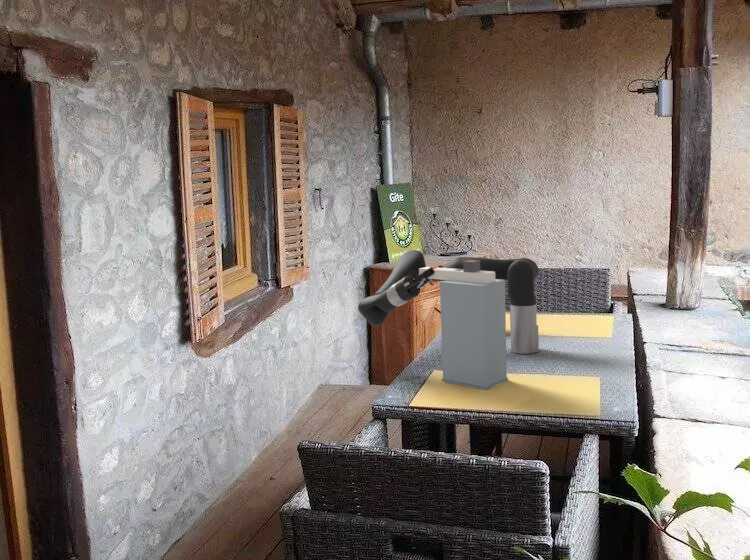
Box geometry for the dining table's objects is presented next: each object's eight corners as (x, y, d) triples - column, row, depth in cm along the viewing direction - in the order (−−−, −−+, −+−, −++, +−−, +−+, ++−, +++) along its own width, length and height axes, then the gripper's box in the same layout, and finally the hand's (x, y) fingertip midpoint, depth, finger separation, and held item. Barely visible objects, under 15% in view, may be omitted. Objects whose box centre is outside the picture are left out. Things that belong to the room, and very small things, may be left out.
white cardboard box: (419, 277, 249) (418, 258, 248) (427, 275, 253) (427, 256, 252) (487, 283, 232) (486, 263, 231) (495, 281, 236) (494, 261, 235)
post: (441, 381, 245) (438, 282, 239) (464, 371, 254) (461, 276, 249) (485, 390, 234) (483, 286, 228) (508, 379, 243) (506, 279, 238)
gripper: (421, 298, 262) (455, 276, 251) (394, 305, 252) (429, 282, 241) (411, 278, 264) (445, 255, 253) (384, 284, 253) (419, 261, 242)
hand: (437, 269), depth 247 cm, fingers closed on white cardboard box, 4 cm apart
